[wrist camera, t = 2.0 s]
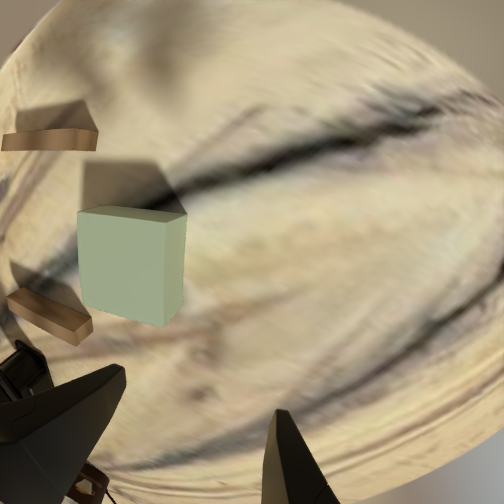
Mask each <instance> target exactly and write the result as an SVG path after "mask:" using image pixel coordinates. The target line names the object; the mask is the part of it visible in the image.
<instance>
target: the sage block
mask: <svg viewBox="0 0 504 504" xmlns="http://www.w3.org/2000/svg"><path fill="white" fill-rule="evenodd" d="M187 215H188V214H181V213H172V212H164V211H156V210H147V209H138V208H129V207H120V206H111V205H105V206H100V207H96V208H91V209H87V210H83V211H78V212H77V238H78V259H79V273H80V284H81V293H82V301H83V305H85V306H88V307H91V308H95V309H98V310H101V311H104V312H107V313H111V314H114V315H117V316H121V317H124V318H128V319H131V320H135V321H139V322H142V323H146V324H150V325H154V326H158V327H162V328H165V326H166V325H167V324H168V322H169V321H170V320H171V319H172V317H173V316H174V315H175V313H176V312H177V311H178V310H179V308H180V307H181V306H182V303H183V276H184V257H185V241H186V227H187Z"/></svg>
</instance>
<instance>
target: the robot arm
mask: <svg viewBox="0 0 504 504" xmlns="http://www.w3.org/2000/svg"><path fill="white" fill-rule="evenodd" d="M15 345H16V348H17V351H16V352H14V353H13V354H12V355H10V356H9V357H8V358H7V359H5V360H4V361H3V362H2V363H0V504H61V503H62V501H63V500H64V498H65V496H66V494H67V492H68V491H69V489H70V487H71V485H72V484H73V482H74V480H75V479H76V477H77V475H78V473H79V472H80V470H81V468H82V467H83V465H84V463H85V462H86V460H87V458H88V457H89V455H90V453H91V452H92V450H93V448H94V447H95V445H96V443H97V442H98V440H99V438H100V437H101V435H102V434H103V432H104V430H105V429H106V427H107V425H108V424H109V422H110V420H111V418H112V416H113V414H114V412H115V410H116V408H117V406H118V403H119V401H120V399H121V397H122V395H123V393H124V390H125V388H126V374H125V368H124V367H123V366H120V365H118V364H111V365H109V366H106V367H104V368H101V369H99V370H97V371H94V372H92V373H89V374H87V375H84V376H82V377H79V378H77V379H74V380H72V381H69V382H67V383H64V384H61V385H59V386H56V387H54V385H53V382H52V379H51V376H50V373H49V370H48V367H47V363H46V360H45V358H44V357H43V356H42V355H40V354H39V353H37V352H35V351H34V350H32V349H31V348H29V347H28V346H26V345H25V344H23V343H22V342H20V341H19V340H16V341H15ZM327 484H328V482H327V481H326V479H325V477H324V475H323V474H322V472H321V470H320V468H319V467H318V465H317V463H316V461H315V459H314V458H313V456H312V454H311V452H310V450H309V448H308V447H307V445H306V443H305V441H304V439H303V437H302V436H301V434H300V432H299V430H298V428H297V426H296V424H295V422H294V420H293V419H292V417H291V415H290V413H289V411H288V410H283V409H276V410H275V412H274V415H273V417H272V420H271V423H270V426H269V431H268V437H267V443H266V449H265V455H264V461H263V474H262V500H261V504H340V502H339V501H338V499H337V498H336V496H335V494H334V493H333V491H332V489H331V488H330V486H329V485H327Z"/></svg>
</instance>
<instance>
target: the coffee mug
mask: <svg viewBox="0 0 504 504" xmlns="http://www.w3.org/2000/svg"><path fill="white" fill-rule="evenodd" d="M109 481H110V480H109V478H108V477H107V476H106V475H105V474H103V473H102V472H101V471H99V470H98V469H96V468H95V467H93V466H91V465H89V464H86V463H84V465H83V467H82V468H81V470H80V472H79V473H78V475H77V477H76V479H75V480H74V482H73V484H72V485H71V487H70V489H69V491H68V492H67V494H66V496H65V498H64V500H66V501H67V502H68V503H70V504H101V503H102V500H103V498H104V495H105V493H106V494H107V495H108V497H109V498H110V499H111V501H112V502H113V503H114V504H116V502H115V501H114V500H113V498H112V497H111V496H110V494H109V493H108V490H107V486H108V484H109Z"/></svg>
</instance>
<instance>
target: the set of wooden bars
mask: <svg viewBox="0 0 504 504" xmlns="http://www.w3.org/2000/svg"><path fill="white" fill-rule="evenodd" d="M97 138H98V132H96V131H90V130H84V129H77V128H68V129H52V130H39V131H29V132H20V133H12V134H5V135H3V140H2V148H1V151H27V150H74V151H96V144H97ZM6 298H7V303H8V308H9V310H11V311H12V312H14V313H15V314H17V315H19V316H20V317H22V318H24V319H25V320H27V321H29V322H30V323H32V324H34V325H36V326H37V327H39V328H41V329H43V330H45V331H46V332H48V333H50V334H52V335H54V336H56V337H58V338H60V339H62V340H64V341H66V342H68V343H70V344H72V345H74V346H77V345H78V344H80V343H81V342H82V341H83V340H84V339H85V338H86V337H87V336H89V335H90V334H91V333H92V332H93V326H92V318H91V317H89V316H86V315H84V314H81V313H79V312H77V311H74V310H72V309H70V308H67V307H65V306H63V305H60V304H58V303H56V302H54V301H52V300H49V299H47V298H45V297H43V296H41V295H39V294H37V293H35V292H33V291H31V290H29V289H27V288H25V287H23V288H21V289H19V290H17V291H15V292H13V293H11V294H10V295H8V296H6Z"/></svg>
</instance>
